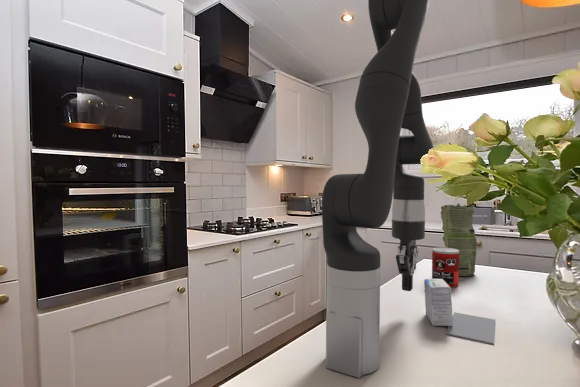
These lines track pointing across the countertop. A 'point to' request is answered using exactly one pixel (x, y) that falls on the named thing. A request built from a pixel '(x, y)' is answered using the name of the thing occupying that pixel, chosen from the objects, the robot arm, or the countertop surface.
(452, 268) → the canned food
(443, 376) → the countertop surface
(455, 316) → the mat
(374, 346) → the robot arm
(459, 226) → the pouch
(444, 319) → the medicine box
